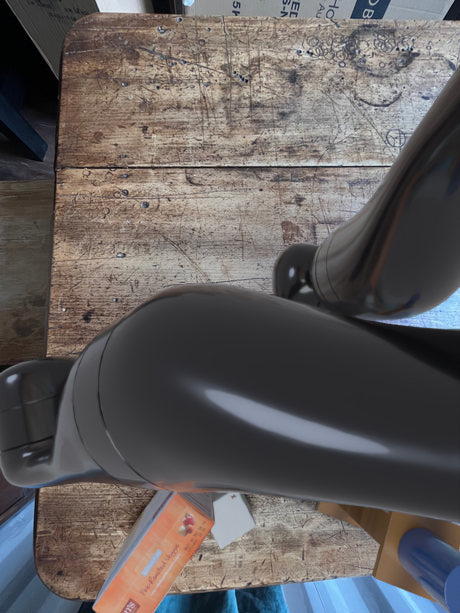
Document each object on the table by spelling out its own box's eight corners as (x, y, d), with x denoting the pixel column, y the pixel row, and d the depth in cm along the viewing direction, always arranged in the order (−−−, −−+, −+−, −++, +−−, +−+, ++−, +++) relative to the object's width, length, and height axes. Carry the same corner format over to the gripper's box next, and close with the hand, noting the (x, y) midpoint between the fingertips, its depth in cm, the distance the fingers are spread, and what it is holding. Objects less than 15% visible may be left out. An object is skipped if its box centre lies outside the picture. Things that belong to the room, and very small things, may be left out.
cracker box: (159, 554, 58) (132, 648, 38) (128, 528, 59) (86, 608, 38) (214, 476, 61) (217, 525, 40) (184, 452, 61) (173, 489, 41)
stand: (315, 508, 61) (374, 578, 39) (330, 459, 62) (395, 501, 41) (361, 526, 61) (446, 607, 39) (375, 476, 62) (464, 528, 41)
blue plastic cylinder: (392, 568, 40) (438, 615, 32) (404, 520, 41) (452, 553, 33) (436, 586, 39) (493, 637, 32) (448, 537, 40) (506, 575, 33)
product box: (200, 494, 60) (199, 509, 53) (233, 473, 61) (236, 486, 54) (218, 530, 59) (220, 550, 52) (251, 509, 60) (258, 526, 53)
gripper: (230, 421, 41) (216, 502, 51) (358, 435, 42) (321, 512, 51) (232, 373, 47) (219, 453, 57) (344, 385, 48) (312, 462, 57)
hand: (267, 481), depth 54 cm, fingers closed on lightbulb, 6 cm apart
